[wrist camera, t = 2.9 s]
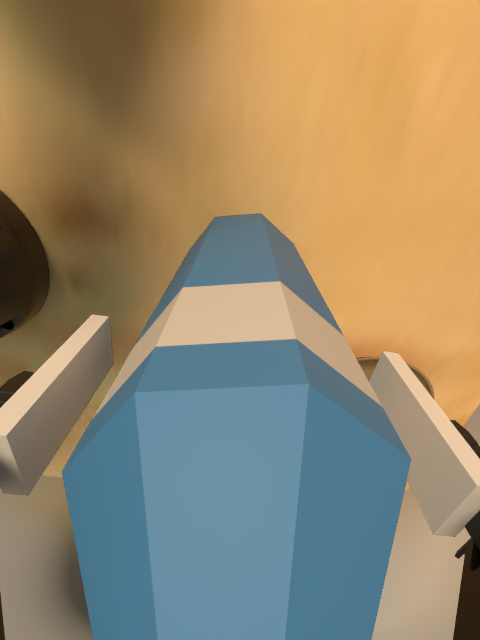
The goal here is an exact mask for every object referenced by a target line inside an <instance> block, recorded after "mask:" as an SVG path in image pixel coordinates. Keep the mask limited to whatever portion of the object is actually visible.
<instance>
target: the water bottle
mask: <svg viewBox="0 0 480 640" xmlns="http://www.w3.org/2000/svg"><path fill="white" fill-rule="evenodd" d="M410 463H411V458H410V456H409V454H408V452H407V450H406V449H405V447H404V445H403V443H402V441H401V439H400V438H399V436H398V434H397V432H396V430H395V429H394V427H393V425H392V423H391V421H390V419H389V418H388V416H387V414H386V412H385V410H384V408H383V407H382V405H381V403H380V401H379V399H378V398H377V396H376V394H375V392H374V390H373V388H372V387H371V385H370V383H369V381H368V379H367V377H366V376H365V374H364V372H363V370H362V368H361V366H360V365H359V363H358V361H357V359H356V357H355V356H354V354H353V352H352V350H351V348H350V346H349V345H348V343H347V341H346V339H345V337H344V335H343V334H342V332H341V330H340V328H339V326H338V325H337V323H336V321H335V319H334V317H333V315H332V314H331V312H330V310H329V308H328V306H327V304H326V303H325V301H324V299H323V297H322V295H321V293H320V292H319V290H318V288H317V286H316V284H315V283H314V281H313V279H312V277H311V275H310V273H309V272H308V270H307V268H306V266H305V264H304V262H303V261H302V259H301V257H300V255H299V253H298V252H297V250H296V248H295V246H294V244H293V243H292V242H291V241H290V240H289V239H288V238H287V237H286V236H285V235H283V234H282V233H281V232H280V231H279V230H278V229H277V228H276V227H275V226H274V225H273V224H272V223H271V222H270V221H268V220H267V219H266V218H265V217H264V216H263V215H262V214H248V215H235V216H222V217H215V218H214V220H213V221H212V222H211V223H210V225H209V226H208V227H207V228H206V230H205V231H204V232H203V234H202V235H201V236H200V237H199V239H198V240H197V241H196V243H195V244H194V245H193V246H192V248H191V249H190V250H189V252H188V253H187V255H186V257H185V259H184V260H183V262H182V264H181V266H180V267H179V269H178V271H177V272H176V274H175V276H174V278H173V279H172V281H171V283H170V285H169V286H168V288H167V290H166V292H165V293H164V295H163V297H162V299H161V300H160V302H159V304H158V306H157V307H156V309H155V311H154V312H153V314H152V316H151V318H150V319H149V321H148V323H147V325H146V326H145V328H144V330H143V332H142V333H141V335H140V337H139V339H138V340H137V342H136V344H135V345H134V347H133V349H132V351H131V352H130V354H129V356H128V358H127V359H126V361H125V363H124V365H123V366H122V368H121V370H120V372H119V373H118V375H117V377H116V379H115V380H114V382H113V384H112V385H111V387H110V389H109V391H108V392H107V394H106V396H105V398H104V399H103V401H102V403H101V405H100V406H99V408H98V410H97V412H96V413H95V415H94V417H93V418H92V420H91V422H90V424H89V425H88V427H87V429H86V431H85V432H84V434H83V436H82V438H81V439H80V441H79V443H78V445H77V446H76V448H75V450H74V452H73V453H72V455H71V457H70V458H69V460H68V462H67V464H66V465H65V467H64V469H63V471H62V475H63V480H64V486H65V491H66V496H67V501H68V507H69V512H70V517H71V523H72V528H73V533H74V539H75V544H76V549H77V554H78V560H79V565H80V570H81V575H82V581H83V586H84V591H85V597H86V602H87V607H88V613H89V618H90V623H91V628H92V634H93V639H94V640H371V639H372V634H373V630H374V625H375V621H376V616H377V612H378V607H379V603H380V598H381V594H382V589H383V585H384V580H385V576H386V571H387V567H388V562H389V557H390V553H391V549H392V544H393V540H394V535H395V531H396V526H397V522H398V517H399V513H400V508H401V504H402V499H403V494H404V490H405V486H406V481H407V477H408V472H409V468H410Z"/></svg>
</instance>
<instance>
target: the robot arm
mask: <svg viewBox="0 0 480 640" xmlns="http://www.w3.org/2000/svg"><path fill="white" fill-rule="evenodd" d="M48 288H49V271H48V265H47V260H46V257H45V254H44V251H43V248H42V246H41V243H40V241H39V239H38V237H37V235H36V233H35V232H34V230H33V228H32V227H31V225H30V224H29V222H28V221H27V219H26V218H25V216H24V215H23V214H22V213H21V211H20V210H19V209H18V208H17V207H16V206H15V204H14V203H13V202H12V201H11V200H10V199H9V198H8V197H7V196H6V195H5V194H4V193H3V192H2V191H0V338H2V337H4V336H6V335H8V334H10V333H12V332H14V331H16V330H17V329H18V328H20V327H21V326H22V325H24V324H25V323H26V322H27V321H29V320H30V319H31V318H33V317H34V316H35V315H36V314H37V313H38V312H39V310H40V309H41V307H42V306H43V304H44V302H45V300H46V297H47V293H48ZM113 364H114V363H113V353H112V342H111V332H110V321H109V316H101V315H93V314H92V315H91V316H90V317H89V318H88V319H87V320H86V321H85V322H84V323H83V324H82V325H81V326H80V327H79V328H78V329H77V330H76V331H75V333H74V334H73V335H72V336H71V337H70V338H69V339H68V340H67V341H66V342H65V343H64V344H63V345H62V346H61V347H60V348H59V349H58V350H57V351H56V352H55V353H54V354H53V355H52V356H51V357H50V358H49V359H48V360H47V361H46V362H45V363H44V364H43V365H42V366H41V367H40V368H39V369H38V370H37V371H36V372H28V371H24V372H22V373H20V374H18V375H16V376H15V377H13V378H11V379H9V380H8V381H7V382H6V383H5V384H4V385H3V386H1V387H0V487H1V490H2V492H3V493H8V494H19V495H29V494H30V492H31V491H32V489H33V488H34V486H35V484H36V483H37V481H38V480H39V478H40V477H41V475H42V474H43V472H44V471H45V469H46V467H47V466H48V464H49V463H50V461H51V460H52V458H53V457H54V455H55V454H56V452H57V450H58V449H59V447H60V446H61V444H62V443H63V441H64V440H65V438H66V436H67V435H68V433H69V432H70V430H71V429H72V427H73V426H74V424H75V423H76V421H77V419H78V418H79V416H80V415H81V413H82V412H83V410H84V409H85V407H86V405H87V404H88V402H89V401H90V399H91V398H92V396H93V395H94V393H95V392H96V390H97V388H98V387H99V385H100V384H101V382H102V381H103V379H104V378H105V376H106V374H107V373H108V371H109V370H110V368H111V367H112V365H113ZM369 383H370V385H371V387H372V388H373V390H374V392H375V394H376V396H377V398H378V399H379V401H380V403H381V405H382V407H383V408H384V410H385V412H386V414H387V416H388V418H389V419H390V421H391V423H392V425H393V427H394V429H395V430H396V432H397V434H398V436H399V438H400V439H401V441H402V443H403V445H404V447H405V449H406V450H407V452H408V454H409V456H410V458H411V463H410V468H409V472H408V477H407V482H408V484H409V486H410V489H411V491H412V492H413V495H414V496H415V499H416V501H417V503H418V505H419V507H420V509H421V511H422V513H423V515H424V517H425V519H426V521H427V523H428V525H429V527H430V529H431V531H432V533H433V534H434V535H443V536H453V537H455V536H456V535H457V534H458V533H459V532H460V531H461V530H462V529H463V528H464V527H465V528H466V529H467V531H468V533H469V534H470V536H471V539H469V540H468V541H467V542H466V543H465V544H464V545H463V546H462V547H461V548H460V549H459V550H458V551H457V553H456V554H455V557H457V558H458V559H459V558H460V557H461V556H462V555H463V554H465V558H464V565H463V572H462V579H461V587H460V593H459V601H458V608H457V615H456V622H455V629H454V636H453V640H480V446H478V443H477V442H476V441H475V440H474V438H473V437H472V436H471V434H470V433H469V432H468V431H467V430H466V429H465V428H463V427H462V426H461V425H460V424H459V423H457V422H456V421H455V420H449V419H448V417H447V416H446V415H445V413H444V412H443V411H442V409H441V408H440V407H439V406H438V404H437V403H436V402H435V400H434V399H433V398H432V396H431V395H430V394H429V393H428V391H427V390H426V389H425V387H424V386H423V385H422V383H421V382H420V381H419V380H418V378H417V377H416V376H415V374H414V373H413V372H412V371H411V369H410V368H409V367H408V365H407V364H406V363H405V361H404V360H403V359H402V358H401V356H400V355H399V354H398V353H392V352H384V351H383V352H382V354H381V357H380V359H379V361H378V363H377V365H376V368H375V370H374V372H373V374H372V376H371V378H370V381H369ZM0 640H5V635H4V625H3V616H2V605H1V594H0Z"/></svg>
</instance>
